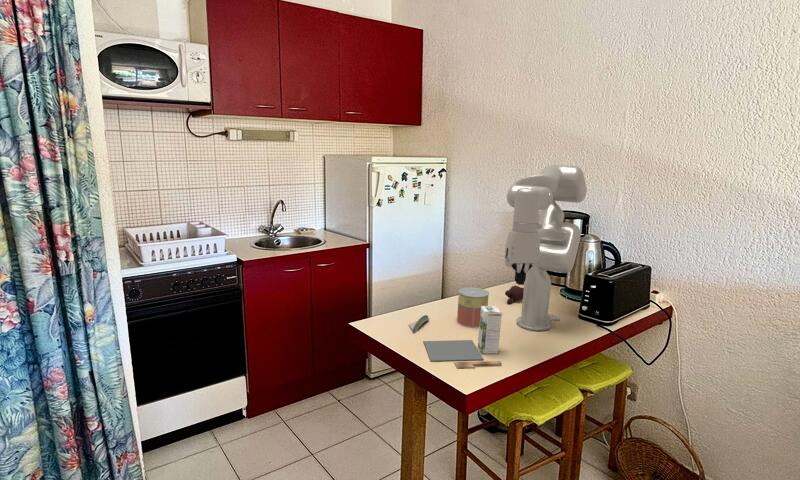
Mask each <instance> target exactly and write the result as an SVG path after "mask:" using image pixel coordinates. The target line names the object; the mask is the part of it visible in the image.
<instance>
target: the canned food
mask: <svg viewBox="0 0 800 480" xmlns="http://www.w3.org/2000/svg"><path fill="white" fill-rule="evenodd" d="M489 294H490V293H489V291H488V290H486V289H484V288H481V287H475V286H474V287H473V286H468V287H467V286H466V287H462V288H460V289H458V301H457V316H456V317H457V318H456V322H457V323H458V324H459V325H461V326H462V327H466V328H476V329H477V328H478V329H479V324H480V314H481V306H489V296H490V295H489Z"/></svg>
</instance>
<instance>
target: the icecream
mask: <svg viewBox="0 0 800 480" xmlns="http://www.w3.org/2000/svg"><path fill="white" fill-rule="evenodd" d="M523 292H524V287H520V285H513V286H511V287H510V288H509V289H507V290H505V292H504V294H505V296H507V298H508V299H507V301H506V304H507V305H510V304H512V303H513V302H519V301H521V300H522V301H523Z"/></svg>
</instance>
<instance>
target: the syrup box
mask: <svg viewBox="0 0 800 480" xmlns="http://www.w3.org/2000/svg"><path fill="white" fill-rule="evenodd" d="M502 315H503V313H502V311H501V309H499V307H498V306H495V305H494V306H493V305H488V306H481V314H480V324H479V327H478V337H477V349H478V350H479V352H480V354H481V355H484V354H485V355H488V354H489V355H490V354H491V355H492V354H493V355H494V354H499V350H500V349H499V348H500V338H501V328H502V327H501V326H502V317H503V316H502Z"/></svg>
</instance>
